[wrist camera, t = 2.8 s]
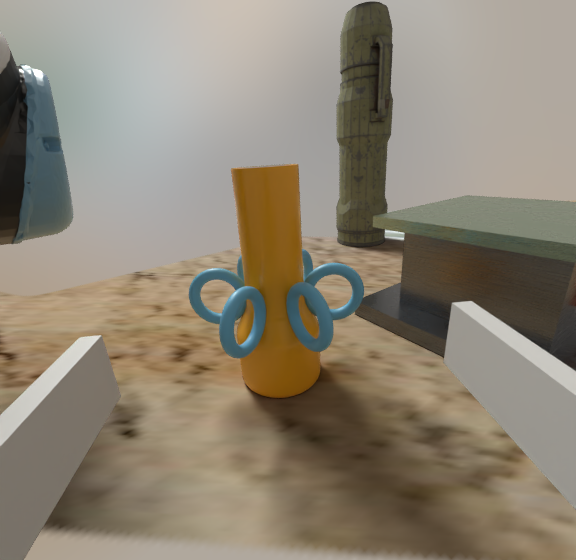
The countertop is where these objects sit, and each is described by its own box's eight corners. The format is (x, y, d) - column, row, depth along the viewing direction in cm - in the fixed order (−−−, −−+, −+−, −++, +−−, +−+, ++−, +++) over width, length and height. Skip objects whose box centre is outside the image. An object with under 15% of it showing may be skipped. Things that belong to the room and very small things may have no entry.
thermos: (360, 231, 66) (365, 27, 53) (401, 243, 55) (419, -6, 43) (324, 237, 62) (320, 22, 50) (359, 251, 52) (366, -15, 39)
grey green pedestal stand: (355, 314, 32) (357, 216, 28) (452, 271, 41) (463, 194, 38) (583, 424, 18) (645, 259, 14) (653, 323, 27) (701, 207, 24)
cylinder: (391, 389, 22) (409, 158, 16) (256, 467, 17) (216, 174, 11) (296, 321, 32) (287, 162, 26) (193, 357, 27) (155, 172, 21)
